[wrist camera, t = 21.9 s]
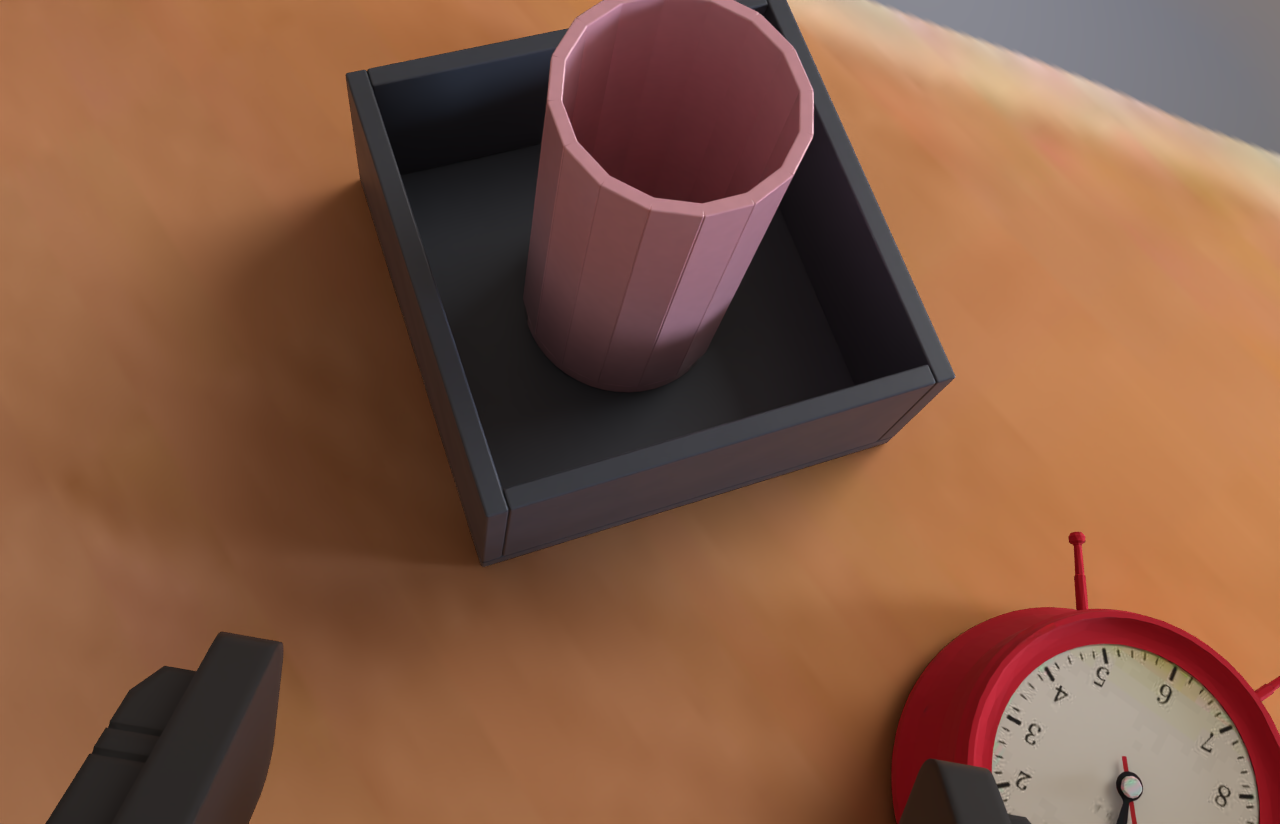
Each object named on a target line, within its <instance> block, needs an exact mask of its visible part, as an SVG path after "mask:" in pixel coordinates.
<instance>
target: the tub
mask: <svg viewBox="0 0 1280 824" xmlns="http://www.w3.org/2000/svg"><path fill="white" fill-rule="evenodd" d="M734 1H736V2H738V3H741V4H743V5H745V6H747V7H749V8H751V9H753V10H755V11H757V12H758V13H759V14H761V15H762V16H763V17H764V18H765V19H766V20H767V21H768V22H769V23H770V24H771V25H772V26H773V27H774V28H775V29H776V30H777V31H778V32H779V33H780V34H781V35H782V36H783V37H784V38H785V39H786V40H787V41H788V42H789V43H790V44H791V45H792V46H793V47H794V49H795V50H796V52H797V54H798V57H799V59H800V61H801V63H802V66H803V68H804V70H805V72H806V75H807V77H808V79H809V81H810V84H811V86H812V88H813V92H814V135H813V139H812V141H811V143H810V145H809V147H808V149H807V151H806V153H805V155H804V157H803V159H802V161H801V163H800V165H799V167H798V169H797V171H796V173H795V175H794V177H793V179H792V181H791V183H790V185H789V187H788V189H787V191H786V193H785V195H784V197H783V199H782V201H781V203H780V205H779V207H778V209H777V211H776V213H775V215H774V217H773V219H772V221H771V223H770V225H769V227H768V229H767V231H766V233H765V235H764V237H763V239H762V241H761V243H760V245H759V247H758V249H757V251H756V253H755V255H754V257H753V259H752V261H751V263H750V265H749V267H748V269H747V271H746V273H745V275H744V277H743V279H742V281H741V283H740V285H739V287H738V289H737V291H736V293H735V295H734V297H733V299H732V301H731V303H730V305H729V307H728V309H727V311H726V313H725V315H724V317H723V319H722V321H721V323H720V325H719V327H718V329H717V331H716V333H715V335H714V337H713V339H712V341H711V343H710V345H709V347H708V349H707V351H706V353H705V354H704V355H703V356H702V357H701V359H700V360H699V361H698V362H697V364H696V365H694V366H693V367H692V368H691V369H690V370H689V371H688V372H687V373H685V374H684V375H682V376H681V377H679V378H678V379H676V380H674V381H672V382H670V383H668V384H666V385H663V386H661V387H658V388H655V389H650V390H646V391H640V392H614V391H608V390H602V389H599V388H595V387H592V386H589V385H587V384H584V383H582V382H580V381H578V380H576V379H574V378H572V377H571V376H569V375H567V374H566V373H564V372H563V371H562V370H561V369H559V368H558V367H557V366H555V365H554V364H553V363H552V362H551V361H550V360H549V359H548V358H547V357H546V355H545V354H544V353H543V351H542V350H541V349H540V348H539V346H538V344H537V343H536V341H535V339H534V338H533V336H532V334H531V331H530V329H529V326H528V324H527V320H526V316H525V312H524V303H523V292H524V282H525V272H526V262H527V254H528V245H529V237H530V228H531V220H532V212H533V203H534V195H535V187H536V178H537V170H538V161H539V153H540V145H541V136H542V128H543V120H544V111H545V103H546V94H547V86H548V78H549V69H550V61H551V57H552V54H553V52H554V51H555V49H556V48H557V46H558V45H559V43H560V41H561V40H562V38H563V37H564V35H565V33H566V32H567V30H568V29H569V28H568V29H563V30H558V31H553V32H548V33H543V34H538V35H533V36H528V37H523V38H519V39H514V40H509V41H504V42H499V43H494V44H489V45H484V46H479V47H474V48H469V49H464V50H459V51H454V52H449V53H444V54H439V55H435V56H430V57H425V58H420V59H415V60H410V61H405V62H400V63H395V64H390V65H385V66H380V67H375V68H370V69H368V70H367V71H366V70H360V71H355V72H351V73H347V74H346V82H347V90H348V97H349V104H350V111H351V118H352V125H353V132H354V139H355V146H356V153H357V160H358V167H359V175H360V180H361V183H362V187H363V190H364V193H365V196H366V199H367V203H368V206H369V209H370V212H371V215H372V219H373V222H374V225H375V228H376V231H377V235H378V238H379V241H380V244H381V247H382V251H383V254H384V257H385V260H386V263H387V267H388V270H389V273H390V276H391V279H392V283H393V286H394V289H395V292H396V295H397V299H398V302H399V305H400V308H401V311H402V315H403V318H404V321H405V324H406V327H407V330H408V334H409V337H410V340H411V343H412V346H413V350H414V353H415V356H416V359H417V362H418V366H419V369H420V372H421V375H422V378H423V382H424V385H425V388H426V391H427V394H428V398H429V401H430V404H431V407H432V410H433V414H434V417H435V420H436V423H437V426H438V430H439V433H440V436H441V439H442V442H443V446H444V449H445V452H446V455H447V458H448V462H449V465H450V468H451V471H452V474H453V478H454V481H455V484H456V487H457V490H458V494H459V497H460V500H461V503H462V506H463V510H464V513H465V516H466V519H467V522H468V526H469V529H470V532H471V535H472V538H473V542H474V545H475V548H476V551H477V554H478V558H479V561H480V564H481V566H482V567H485V566H488V565H492V564H495V563H498V562H501V561H505V560H508V559H511V558H514V557H517V556H521V555H524V554H527V553H530V552H534V551H537V550H540V549H543V548H547V547H550V546H553V545H556V544H560V543H563V542H566V541H569V540H573V539H576V538H579V537H582V536H586V535H589V534H592V533H595V532H599V531H602V530H605V529H608V528H611V527H615V526H618V525H621V524H624V523H628V522H631V521H634V520H637V519H641V518H644V517H647V516H650V515H654V514H657V513H660V512H663V511H667V510H670V509H673V508H676V507H680V506H683V505H686V504H689V503H692V502H696V501H699V500H702V499H705V498H709V497H712V496H715V495H718V494H722V493H725V492H728V491H731V490H735V489H738V488H741V487H744V486H748V485H751V484H754V483H757V482H761V481H764V480H767V479H770V478H773V477H777V476H780V475H783V474H786V473H790V472H793V471H796V470H799V469H803V468H806V467H809V466H812V465H816V464H819V463H822V462H825V461H829V460H832V459H835V458H838V457H842V456H845V455H848V454H851V453H855V452H858V451H861V450H864V449H867V448H871V447H874V446H877V445H880V444H884V443H887V442H888V441H889V440H890V439H891V438H892V437H893V436H895V435H896V434H897V433H898V432H899V431H900V430H901V429H902V428H903V427H904V426H905V425H906V424H907V423H908V422H909V421H910V420H911V419H912V418H913V417H914V416H915V415H916V414H918V413H919V412H920V411H921V410H922V409H923V408H924V407H925V406H926V405H927V404H928V403H929V402H930V401H931V400H932V399H933V398H934V397H935V396H936V395H937V394H938V393H939V392H940V391H942V390H943V389H944V388H945V387H946V386H947V385H948V384H949V383H950V382H951V381H952V380H953V379H954V378H955V374H954V372H953V370H952V368H951V365H950V363H949V361H948V359H947V356H946V354H945V352H944V350H943V348H942V345H941V343H940V341H939V339H938V336H937V334H936V332H935V330H934V327H933V325H932V323H931V321H930V319H929V316H928V314H927V312H926V310H925V307H924V305H923V303H922V301H921V299H920V296H919V294H918V292H917V290H916V287H915V285H914V283H913V281H912V279H911V276H910V274H909V272H908V270H907V267H906V265H905V263H904V261H903V259H902V256H901V254H900V252H899V250H898V247H897V245H896V243H895V241H894V239H893V236H892V234H891V232H890V230H889V227H888V225H887V223H886V221H885V219H884V216H883V214H882V212H881V210H880V207H879V205H878V203H877V201H876V199H875V196H874V194H873V192H872V190H871V187H870V185H869V183H868V181H867V178H866V176H865V174H864V172H863V170H862V167H861V165H860V163H859V161H858V158H857V156H856V154H855V152H854V150H853V147H852V145H851V143H850V141H849V138H848V136H847V134H846V132H845V130H844V127H843V125H842V123H841V121H840V118H839V116H838V114H837V112H836V110H835V107H834V105H833V103H832V101H831V98H830V96H829V94H828V92H827V90H826V87H825V85H824V83H823V81H822V78H821V76H820V74H819V72H818V70H817V67H816V65H815V63H814V61H813V58H812V56H811V54H810V52H809V49H808V47H807V45H806V43H805V41H804V38H803V36H802V34H801V32H800V29H799V27H798V25H797V23H796V21H795V18H794V16H793V14H792V12H791V9H790V7H789V5H788V3H787V1H786V0H734Z"/></svg>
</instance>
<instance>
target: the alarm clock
mask: <svg viewBox="0 0 1280 824" xmlns="http://www.w3.org/2000/svg"><path fill="white" fill-rule="evenodd" d="M1084 542H1085V536H1084V534H1083V533H1082V532H1072V533H1071V534H1070V535H1069V543H1071V544H1073V546H1074V558H1075V576H1074V580H1075V595H1076V609H1077V610H1074V609H1067V608H1054V607H1041V608H1029V609H1024V610H1018V611H1013V612H1010V613H1006V614H1003V615H1000V616H997V617H994V618H992V619H989V620H987V621H985V622H982V623H980V624H978V625H976V626H974V627H972V628H970V629H969V630H967V631H966V632H964V633H963V634H961V635H959V636H958V637H957V638H955V639H954V640H953V641H952V642H950V643H949V644H948V645H947V646H946V647H944V648H943V649H942V650H941V651H940V652H939V653H938V654H937V655H936V656H935V658H934V659H933V660H932V661H931V662H930V663H929V664H928V666H927V667H926V669H925V670H924V671H923V673H922V674H921V676H920V677H919V679H918V680H917V682H916V684H915V685H914V687H913V689H912V691H911V693H910V695H909V696H908V699H907V701H906V704H905V706H904V708H903V711H902V714H901V717H900V720H899V723H898V727H897V731H896V736H895V742H894V748H893V754H892V769H891V774H892V798H893V806H894V812H895V818H896V822H897V824H899V821H900V819H901V816H902V814H903V811H904V808H905V806H906V803H907V801H908V798H909V795H910V793H911V790H912V788H913V785H914V783H915V780H916V777H917V775H918V772H919V770H920V768H921V766H922V764H923V763H924V762H925V761H926V760H927V759H930V758H931V759H937V760H943V761H948V762H954V763H960V764H965V765H971V766H977V767H982V768H987V769H988V770H990V771H991V773H992V774H993V776H994V779H995V781H996V784H997V787H998V789H999V792H1000V794H1001V797H1002V800H1003V802H1004V805H1005V808H1006V810H1007V813H1008V814H1011V815H1016V816H1022V817H1026V818H1027V819H1028V820H1029V821H1030V823H1031V824H1280V735H1279V733H1278V730H1277V728H1276V726H1275V724H1274V722H1273V720H1272V718H1271V716H1270V715H1269V713H1268V711H1267V710H1266V708H1265V707H1264V705H1263V704H1262V702H1261V701H1263V700H1264V699H1266V698H1267V697H1269V696H1270V695H1272V694H1273V693H1274V691H1275V690H1276V689H1277V688H1279V687H1280V676H1279V677H1278V678H1276V679H1274V680H1273V681H1271V682H1270V683H1268V684H1264V685H1263V686H1262V687H1260V688H1259V689H1257V690H1256V691H1254V690H1253V689H1252V688H1251V687H1250V685H1249V684H1248V683H1247V682H1246V680H1245V679H1244V678H1243V677H1242V676H1241V675H1240V674H1239V673H1238V672H1237V671H1236V669H1235V668H1234V667H1233V666H1232V665H1231V664H1230V663H1229V662H1228V661H1227V660H1225V659H1224V658H1223V657H1222V656H1221V655H1219V654H1218V653H1217V652H1216V651H1214V650H1213V649H1212V648H1211V647H1210V646H1208V645H1207V644H1205V643H1204V642H1202V641H1201V640H1199V639H1198V638H1196V637H1194V636H1193V635H1191V634H1189V633H1187V632H1186V631H1184V630H1182V629H1180V628H1177V627H1175V626H1173V625H1171V624H1168V623H1166V622H1164V621H1161V620H1158V619H1154V618H1151V617H1148V616H1144V615H1141V614H1136V613H1132V612H1127V611H1120V610H1112V609H1088V600H1087V589H1086V578H1085V575H1084V566H1083V556H1082V544H1083V543H1084Z"/></svg>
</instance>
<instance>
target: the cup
mask: <svg viewBox="0 0 1280 824" xmlns="http://www.w3.org/2000/svg"><path fill="white" fill-rule="evenodd" d="M813 135H814V92H813V88H812V86H811V84H810V81H809V79H808V77H807V75H806V72H805V70H804V68H803V66H802V63H801V61H800V59H799V57H798V54H797V52H796V50H795V49H794V47H793V46H792V45H791V44H790V43H789V42H788V41H787V40H786V39H785V38H784V37H783V36H782V35H781V34H780V33H779V32H778V31H777V30H776V29H775V28H774V27H773V26H772V25H771V24H770V23H769V22H768V21H767V20H766V19H765V18H764V17H763V16H762V15H761V14H759V13H758V12H757V11H755V10H753V9H751V8H749V7H747V6H745V5H743V4H741V3H738V2H736V1H734V0H603V1H601V2H600V3H598V4H596V5H595V6H593V7H592V8H590V9H589V10H587V11H586V12H584V13H582V14H581V15H579V16H578V17H577V18H576V19H574V21H573V22H572V24H571V26H570V27H569V29H568V30H567V32H566V33H565V35H564V37H563V38H562V40H561V41H560V43H559V45H558V46H557V48H556V49H555V51H554V52H553V54H552V57H551V61H550V69H549V78H548V86H547V94H546V103H545V111H544V120H543V128H542V136H541V145H540V153H539V161H538V170H537V178H536V187H535V195H534V203H533V212H532V220H531V228H530V237H529V245H528V254H527V262H526V272H525V282H524V292H523V303H524V312H525V316H526V320H527V324H528V326H529V329H530V331H531V334H532V336H533V338H534V339H535V341H536V343H537V344H538V346H539V348H540V349H541V350H542V351H543V353H544V354H545V355H546V357H547V358H548V359H549V360H550V361H551V362H552V363H553V364H554V365H555V366H557V367H558V368H559V369H561V370H562V371H563V372H564V373H566V374H567V375H569V376H571V377H572V378H574V379H576V380H578V381H580V382H582V383H584V384H587V385H589V386H592V387H595V388H599V389H602V390H608V391H614V392H640V391H646V390H650V389H655V388H658V387H661V386H663V385H666V384H668V383H670V382H672V381H674V380H676V379H678V378H679V377H681V376H682V375H684V374H685V373H687V372H688V371H689V370H690V369H691V368H692V367H693V366H694V365H696V364H697V362H698V361H699V360H700V359H701V357H702V356H703V355H704V354H705V353H706V351H707V349H708V347H709V345H710V343H711V341H712V339H713V337H714V335H715V333H716V331H717V329H718V327H719V325H720V323H721V321H722V319H723V317H724V315H725V313H726V311H727V309H728V307H729V305H730V303H731V301H732V299H733V297H734V295H735V293H736V291H737V289H738V287H739V285H740V283H741V281H742V279H743V277H744V275H745V273H746V271H747V269H748V267H749V265H750V263H751V261H752V259H753V257H754V255H755V253H756V251H757V249H758V247H759V245H760V243H761V241H762V239H763V237H764V235H765V233H766V231H767V229H768V227H769V225H770V223H771V221H772V219H773V217H774V215H775V213H776V211H777V209H778V207H779V205H780V203H781V201H782V199H783V197H784V195H785V193H786V191H787V189H788V187H789V185H790V183H791V181H792V179H793V177H794V175H795V173H796V171H797V169H798V167H799V165H800V163H801V161H802V159H803V157H804V155H805V153H806V151H807V149H808V147H809V145H810V143H811V141H812V139H813Z"/></svg>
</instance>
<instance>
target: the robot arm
mask: <svg viewBox="0 0 1280 824" xmlns="http://www.w3.org/2000/svg"><path fill="white" fill-rule="evenodd" d="M282 663H283V643H282V642H278V641H272V640H266V639H261V638H255V637H249V636H244V635H238V634H232V633H227V632H220V633H219V634H218V635H217V636H216V638H215V639H214V641H213V643H212V645H211V646H210V648H209V650H208V652H207V654H206V655H205V657H204V659H203V661H202V663H201V664H200V666H199V668H198V670H197V671H191V670H186V669H180V668H174V667H168V666H164V667H162V668H161V669H159V670H158V671H156V672H155V673H154V674H152V675H151V676H149V677H148V678H146V679H145V680H144V681H142V682H141V683H139V684H138V685H136V686H135V687H133V688H132V689H131V690H129V692H128V693H127V695H126V697H125V698H124V700H123V701H122V703H121V705H120V706H119V708H118V709H117V711H116V713H115V714H114V716H113V717H112V719H111V720H110V724H109V727H108V728H105V730H104V732H103V733H102V735H101V736H100V738H99V740H98V741H97V743H96V744H95V746H94V749H93V752H92V754H89V755H88V757H87V759H86V760H85V762H84V763H83V765H82V767H81V768H80V770H79V771H78V773H77V775H76V776H75V778H74V779H73V781H72V783H71V784H70V786H69V787H68V789H67V790H66V792H65V794H64V795H63V797H62V798H61V800H60V802H59V803H58V805H57V806H56V808H55V810H54V811H53V813H52V814H51V816H50V818H49V819H48V821H47V822H46V824H249V821H250V819H251V816H252V814H253V812H254V809H255V807H256V804H257V802H258V800H259V797H260V795H261V792H262V789H263V786H264V783H265V780H266V776H267V773H268V769H269V765H270V760H271V755H272V750H273V744H274V736H275V727H276V718H277V709H278V699H279V690H280V681H281V672H282ZM899 824H1031V823H1030V821H1029V820H1028V819H1027V818H1026V817H1022V816H1016V815H1011V814H1008V813H1007V810H1006V808H1005V805H1004V802H1003V800H1002V797H1001V794H1000V792H999V789H998V787H997V784H996V781H995V779H994V776H993V774H992V773H991V771H990V770H988V769H987V768H982V767H977V766H971V765H965V764H960V763H954V762H948V761H943V760H937V759H931V758H930V759H927V760H926V761H925V762H924V763H923V764H922V766H921V768H920V770H919V772H918V775H917V777H916V780H915V783H914V785H913V788H912V790H911V793H910V795H909V798H908V801H907V803H906V806H905V808H904V811H903V814H902V816H901V819H900V821H899Z"/></svg>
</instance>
